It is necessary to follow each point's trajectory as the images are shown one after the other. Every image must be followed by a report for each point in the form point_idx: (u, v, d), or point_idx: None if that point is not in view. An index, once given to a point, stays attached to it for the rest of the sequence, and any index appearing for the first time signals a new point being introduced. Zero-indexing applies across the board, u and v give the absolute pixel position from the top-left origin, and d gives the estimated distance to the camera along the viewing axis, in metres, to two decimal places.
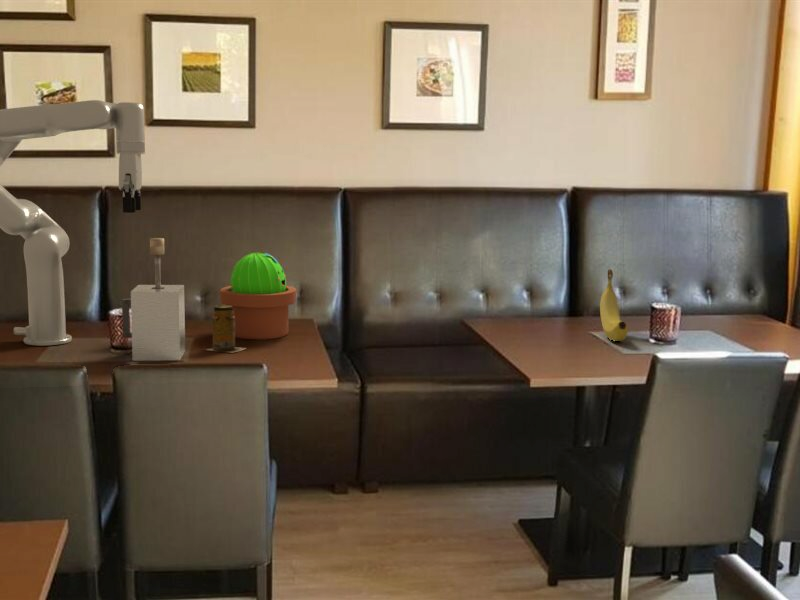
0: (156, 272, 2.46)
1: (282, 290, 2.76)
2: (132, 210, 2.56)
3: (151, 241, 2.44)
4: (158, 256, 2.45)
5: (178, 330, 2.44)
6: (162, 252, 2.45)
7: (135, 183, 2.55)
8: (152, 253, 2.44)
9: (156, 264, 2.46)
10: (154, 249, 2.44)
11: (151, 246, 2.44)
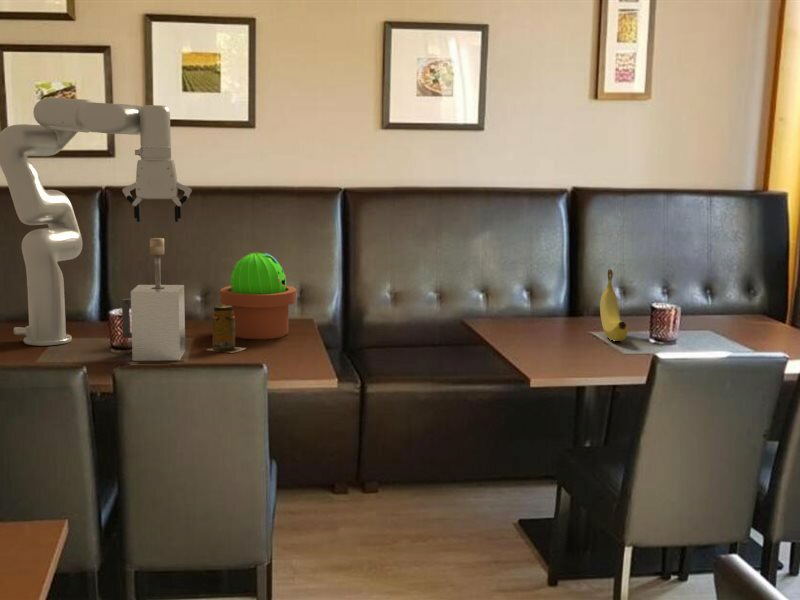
0: (156, 272, 2.46)
1: (282, 290, 2.76)
2: (178, 218, 2.46)
3: (151, 241, 2.44)
4: (158, 256, 2.45)
5: (178, 330, 2.44)
6: (162, 252, 2.45)
7: None
8: (152, 253, 2.44)
9: (156, 264, 2.46)
10: (154, 249, 2.44)
11: (151, 246, 2.44)
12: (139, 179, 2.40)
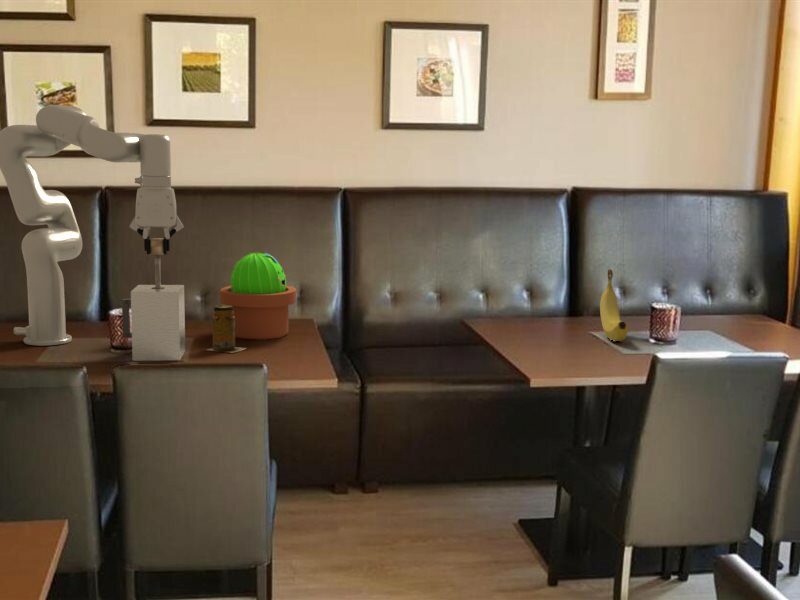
0: (156, 272, 2.46)
1: (282, 290, 2.76)
2: (167, 251, 2.47)
3: (151, 241, 2.44)
4: (158, 256, 2.45)
5: (178, 330, 2.44)
6: (162, 252, 2.45)
7: None
8: (152, 253, 2.44)
9: (156, 264, 2.46)
10: (154, 249, 2.44)
11: (151, 246, 2.44)
12: (139, 207, 2.41)
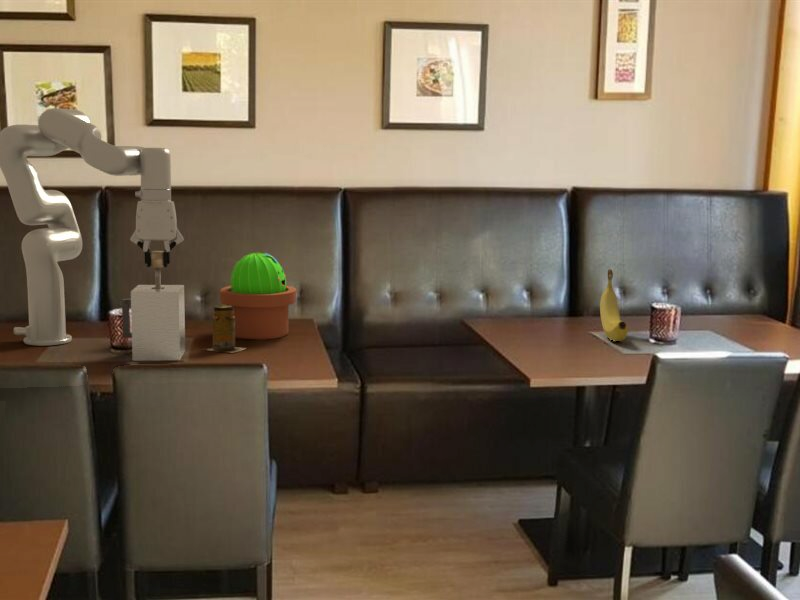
0: (156, 285, 2.47)
1: (282, 290, 2.76)
2: (167, 264, 2.48)
3: (151, 254, 2.45)
4: (158, 269, 2.46)
5: (178, 330, 2.44)
6: (163, 265, 2.46)
7: None
8: (152, 266, 2.45)
9: (156, 277, 2.46)
10: (155, 262, 2.44)
11: (151, 259, 2.45)
12: (139, 221, 2.41)
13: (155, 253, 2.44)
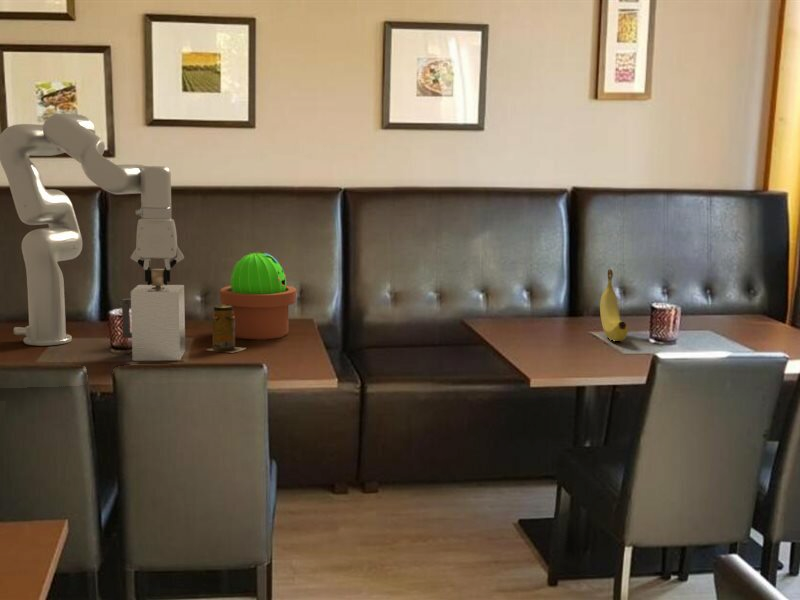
0: None
1: (282, 290, 2.76)
2: None
3: (152, 272, 2.45)
4: (159, 287, 2.47)
5: (178, 330, 2.44)
6: (163, 283, 2.46)
7: None
8: (153, 284, 2.46)
9: None
10: (155, 280, 2.45)
11: (152, 277, 2.46)
12: (139, 239, 2.42)
13: (155, 271, 2.45)
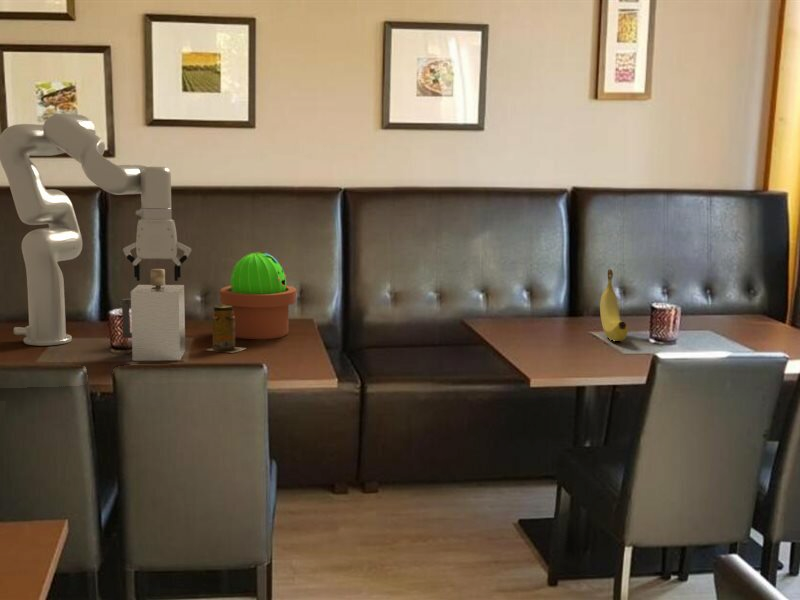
0: None
1: (282, 290, 2.76)
2: (178, 277, 2.48)
3: (152, 272, 2.45)
4: (159, 287, 2.47)
5: (178, 330, 2.44)
6: (163, 283, 2.46)
7: None
8: (153, 284, 2.46)
9: None
10: (155, 280, 2.45)
11: (152, 277, 2.46)
12: (139, 239, 2.42)
13: (155, 271, 2.45)
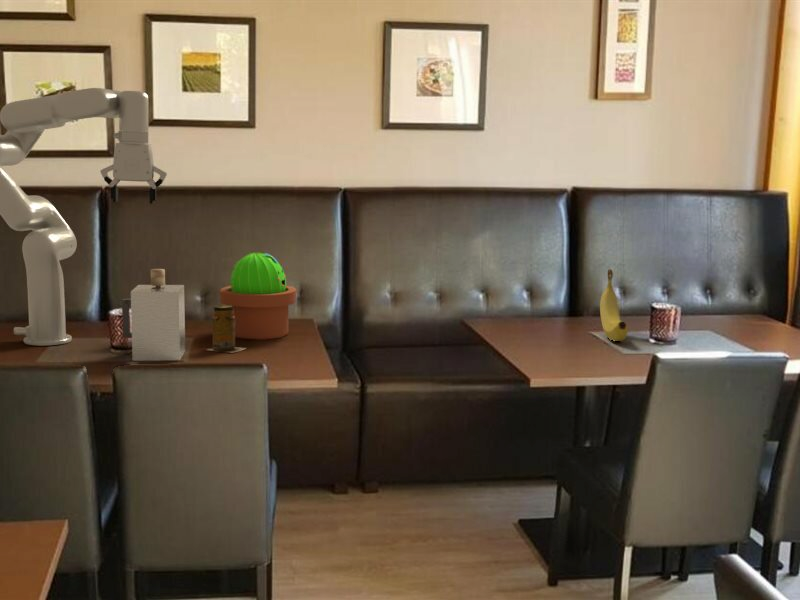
0: None
1: (282, 290, 2.76)
2: (153, 201, 2.56)
3: (152, 272, 2.45)
4: (159, 287, 2.47)
5: (178, 330, 2.44)
6: (163, 283, 2.46)
7: None
8: (153, 284, 2.46)
9: None
10: (155, 280, 2.45)
11: (152, 277, 2.46)
12: (116, 161, 2.50)
13: (155, 271, 2.45)
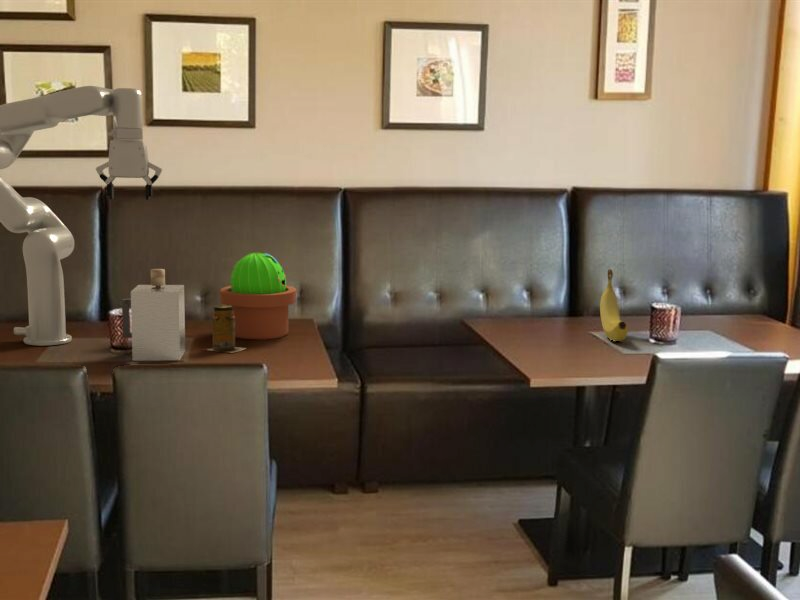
0: None
1: (282, 290, 2.76)
2: (149, 197, 2.58)
3: (152, 272, 2.45)
4: (159, 287, 2.47)
5: (178, 330, 2.44)
6: (163, 283, 2.46)
7: None
8: (153, 284, 2.46)
9: None
10: (155, 280, 2.45)
11: (152, 277, 2.46)
12: (111, 158, 2.52)
13: (155, 271, 2.45)
